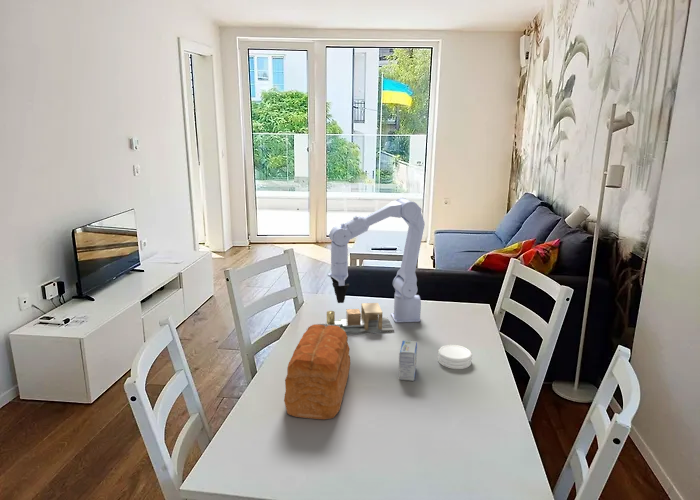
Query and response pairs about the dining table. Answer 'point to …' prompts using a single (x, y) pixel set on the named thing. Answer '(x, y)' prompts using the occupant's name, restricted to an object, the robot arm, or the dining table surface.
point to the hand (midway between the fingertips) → (339, 298)
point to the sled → (351, 319)
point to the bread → (318, 373)
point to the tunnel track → (371, 320)
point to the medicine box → (407, 360)
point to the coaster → (454, 357)
